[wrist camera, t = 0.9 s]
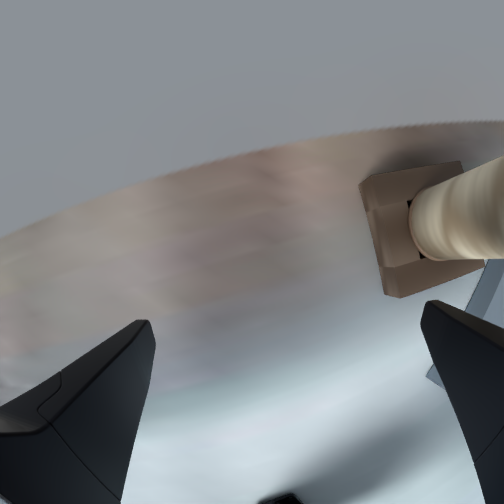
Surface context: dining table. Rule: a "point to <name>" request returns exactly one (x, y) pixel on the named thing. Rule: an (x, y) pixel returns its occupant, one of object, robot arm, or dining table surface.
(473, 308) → the board
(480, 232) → the leg
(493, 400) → the robot arm
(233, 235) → the dining table surface
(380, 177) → the frame
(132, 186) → the dining table surface
